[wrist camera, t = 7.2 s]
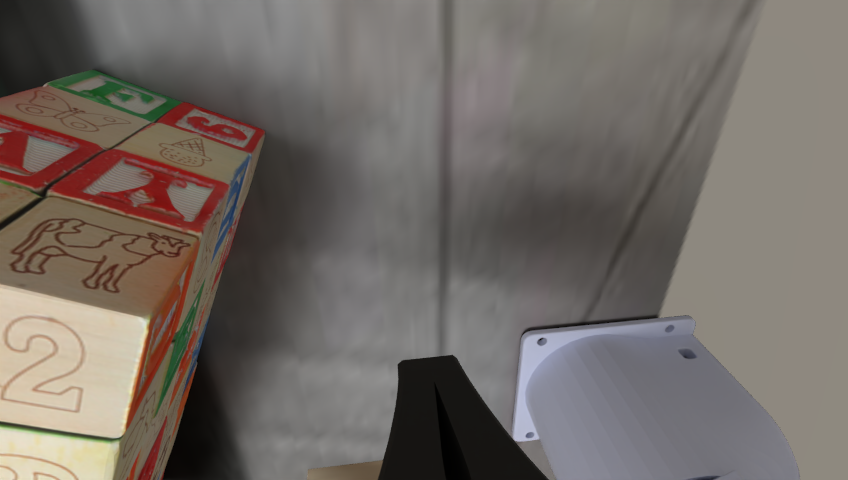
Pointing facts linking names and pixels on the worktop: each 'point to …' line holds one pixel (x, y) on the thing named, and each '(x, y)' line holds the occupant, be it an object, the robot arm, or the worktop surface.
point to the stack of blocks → (108, 270)
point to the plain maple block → (347, 472)
